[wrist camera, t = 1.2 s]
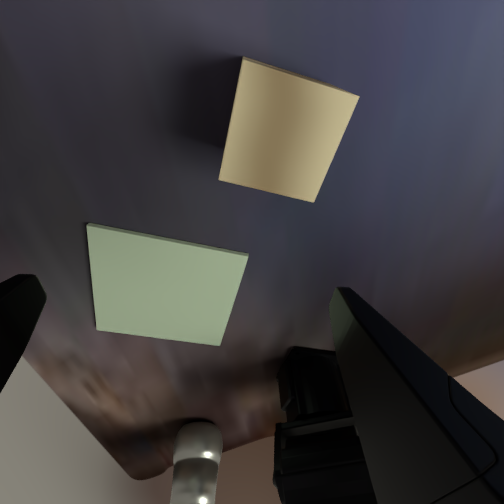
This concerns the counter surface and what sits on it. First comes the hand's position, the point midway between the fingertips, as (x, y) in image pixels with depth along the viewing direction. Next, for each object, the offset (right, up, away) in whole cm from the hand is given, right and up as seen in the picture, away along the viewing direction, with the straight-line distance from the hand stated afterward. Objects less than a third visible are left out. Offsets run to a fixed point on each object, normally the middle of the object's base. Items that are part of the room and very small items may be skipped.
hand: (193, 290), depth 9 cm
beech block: (+3, +9, +8) cm, 13 cm away
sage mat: (-6, -2, +16) cm, 17 cm away
